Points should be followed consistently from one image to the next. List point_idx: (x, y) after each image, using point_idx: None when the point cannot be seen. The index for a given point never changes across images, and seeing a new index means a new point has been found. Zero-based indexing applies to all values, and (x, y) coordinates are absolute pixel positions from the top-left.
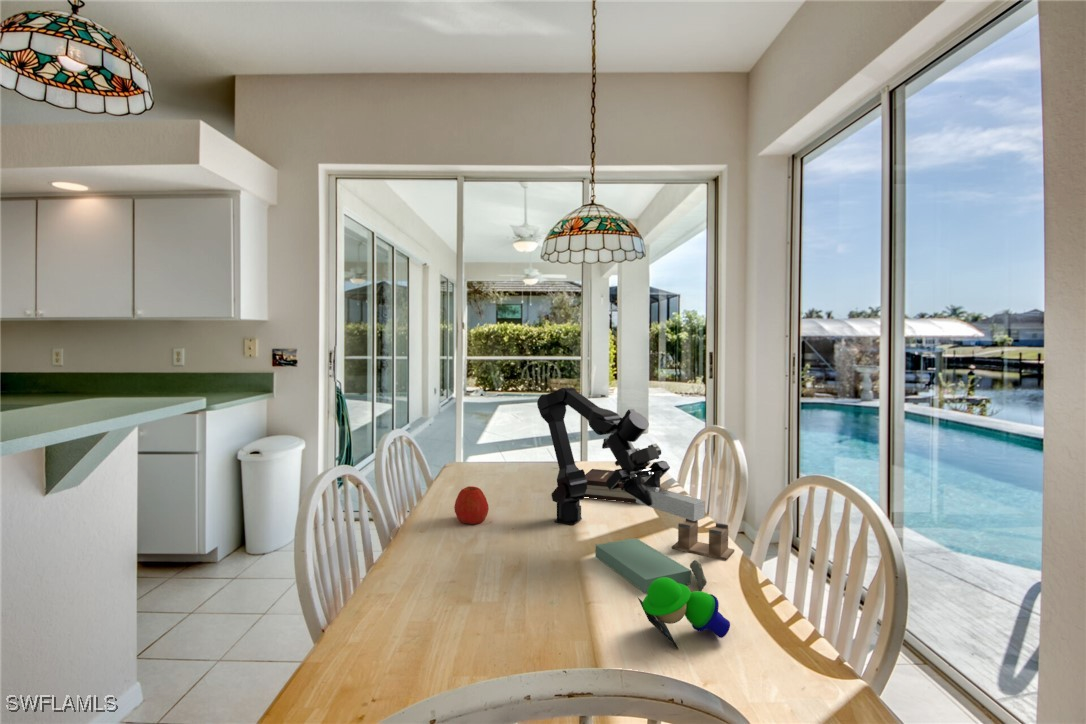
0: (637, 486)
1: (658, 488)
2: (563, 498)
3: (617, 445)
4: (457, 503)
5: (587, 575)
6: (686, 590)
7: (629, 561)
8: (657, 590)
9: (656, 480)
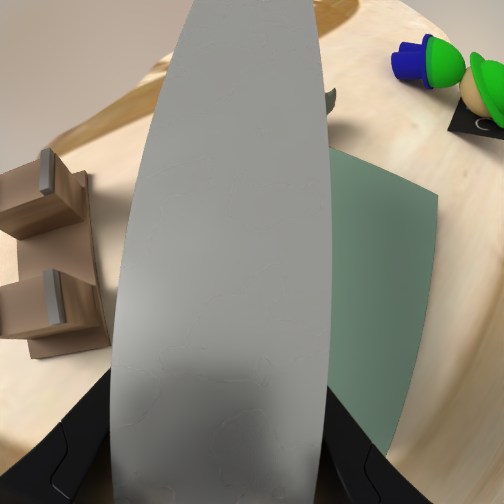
0: (420, 496)
1: (137, 397)
2: None
3: None
4: None
5: (455, 365)
6: (477, 55)
7: (405, 300)
8: None
9: (36, 498)
